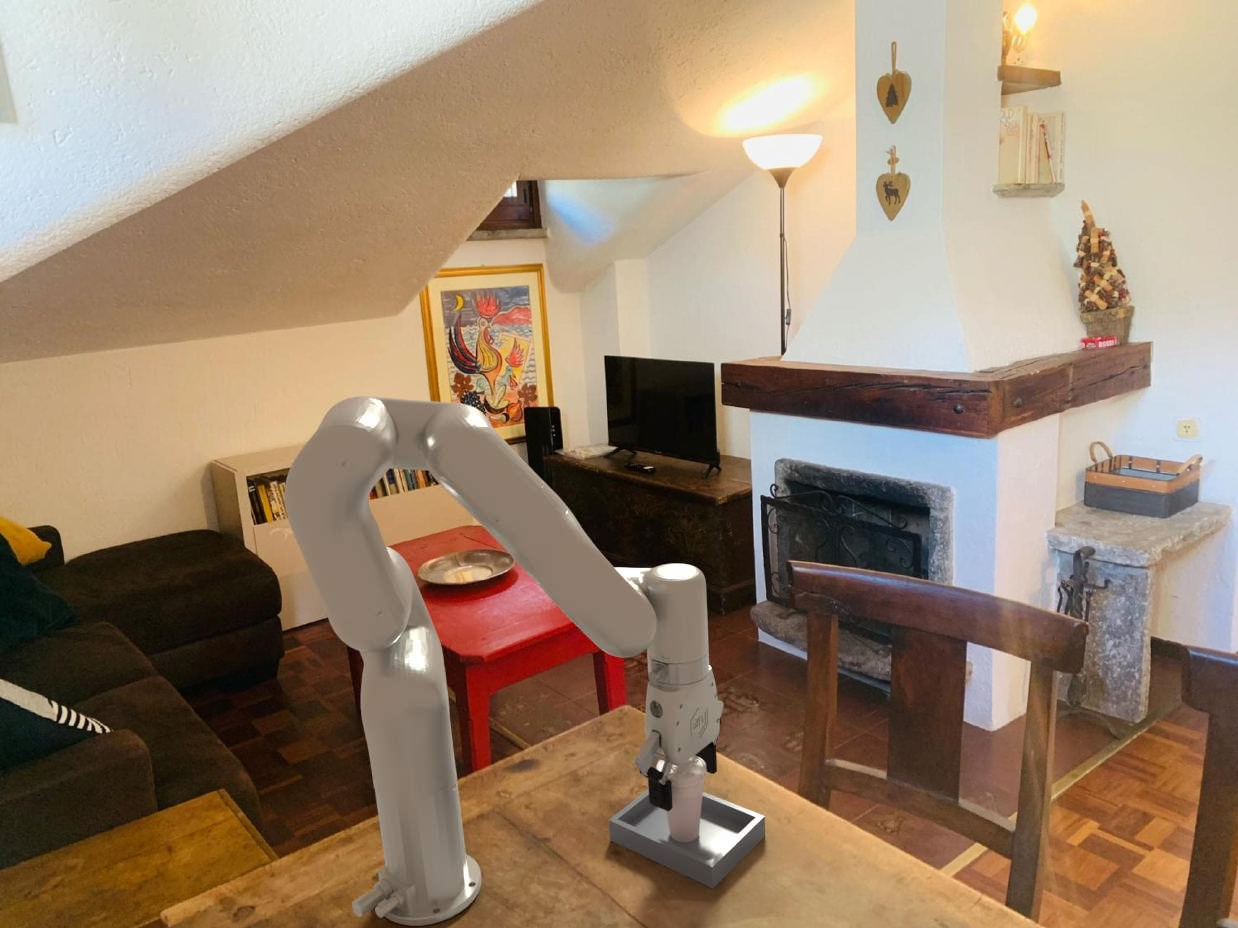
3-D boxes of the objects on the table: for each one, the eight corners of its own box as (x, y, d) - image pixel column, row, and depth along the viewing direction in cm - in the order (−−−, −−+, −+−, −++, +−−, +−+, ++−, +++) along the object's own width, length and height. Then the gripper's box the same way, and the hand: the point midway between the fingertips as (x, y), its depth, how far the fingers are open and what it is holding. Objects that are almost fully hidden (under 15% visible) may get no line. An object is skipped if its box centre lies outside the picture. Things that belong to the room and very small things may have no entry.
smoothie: (709, 817, 122) (705, 721, 119) (709, 849, 116) (705, 748, 113) (660, 817, 123) (655, 722, 119) (658, 849, 117) (652, 749, 113)
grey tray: (713, 888, 110) (712, 866, 110) (610, 840, 120) (608, 819, 120) (765, 836, 119) (764, 815, 119) (665, 795, 129) (664, 776, 129)
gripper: (660, 701, 105) (667, 833, 109) (742, 645, 118) (745, 765, 122) (609, 684, 110) (618, 811, 114) (693, 632, 123) (698, 748, 127)
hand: (684, 787), depth 118 cm, fingers open, 9 cm apart
